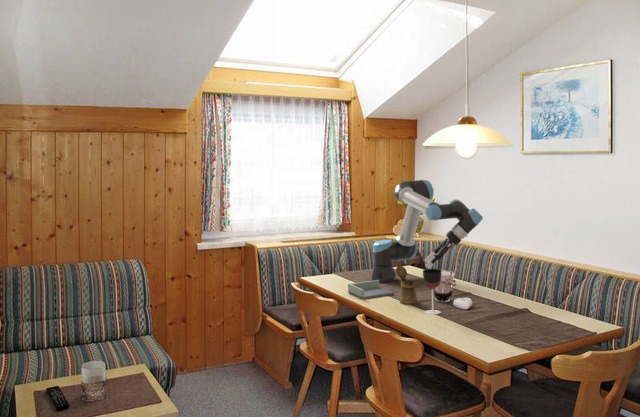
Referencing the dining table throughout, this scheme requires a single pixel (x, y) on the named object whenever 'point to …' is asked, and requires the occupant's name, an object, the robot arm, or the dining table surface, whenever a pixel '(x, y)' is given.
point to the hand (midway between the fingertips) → (426, 264)
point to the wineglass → (432, 284)
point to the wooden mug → (406, 287)
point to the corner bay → (367, 290)
